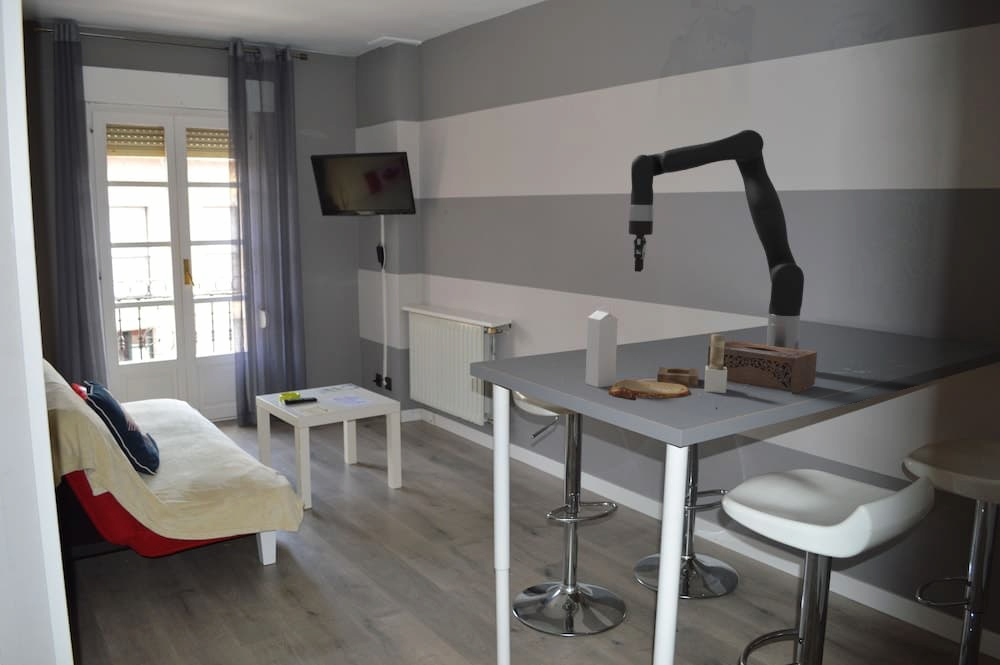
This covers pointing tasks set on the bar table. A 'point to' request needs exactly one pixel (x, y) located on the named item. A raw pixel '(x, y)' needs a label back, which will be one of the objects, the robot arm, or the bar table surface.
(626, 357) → the bar table surface
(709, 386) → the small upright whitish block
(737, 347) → the tissue box cover
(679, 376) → the socket block
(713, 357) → the dowel
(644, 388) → the bread slice
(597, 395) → the bar table surface
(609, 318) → the milk
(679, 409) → the bar table surface
